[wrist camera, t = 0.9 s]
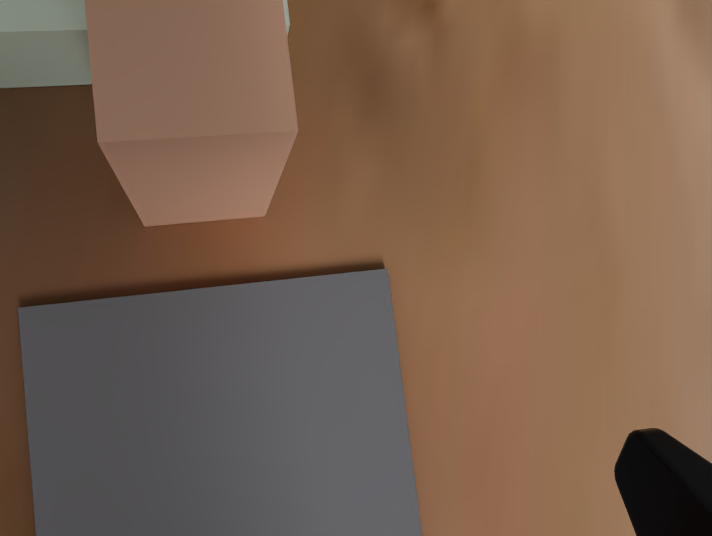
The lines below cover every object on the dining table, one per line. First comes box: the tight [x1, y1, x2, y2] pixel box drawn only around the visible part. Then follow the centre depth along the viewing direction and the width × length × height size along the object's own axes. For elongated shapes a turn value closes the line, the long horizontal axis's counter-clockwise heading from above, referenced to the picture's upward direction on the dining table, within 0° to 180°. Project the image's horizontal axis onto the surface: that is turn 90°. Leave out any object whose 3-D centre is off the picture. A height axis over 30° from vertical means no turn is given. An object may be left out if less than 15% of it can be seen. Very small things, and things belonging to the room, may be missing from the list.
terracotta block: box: [84, 0, 298, 227], centre depth 19 cm, size 4×4×10 cm
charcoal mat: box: [18, 268, 422, 536], centre depth 22 cm, size 12×12×1 cm
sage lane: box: [0, 0, 290, 88], centre depth 21 cm, size 7×12×4 cm, turn 97°
